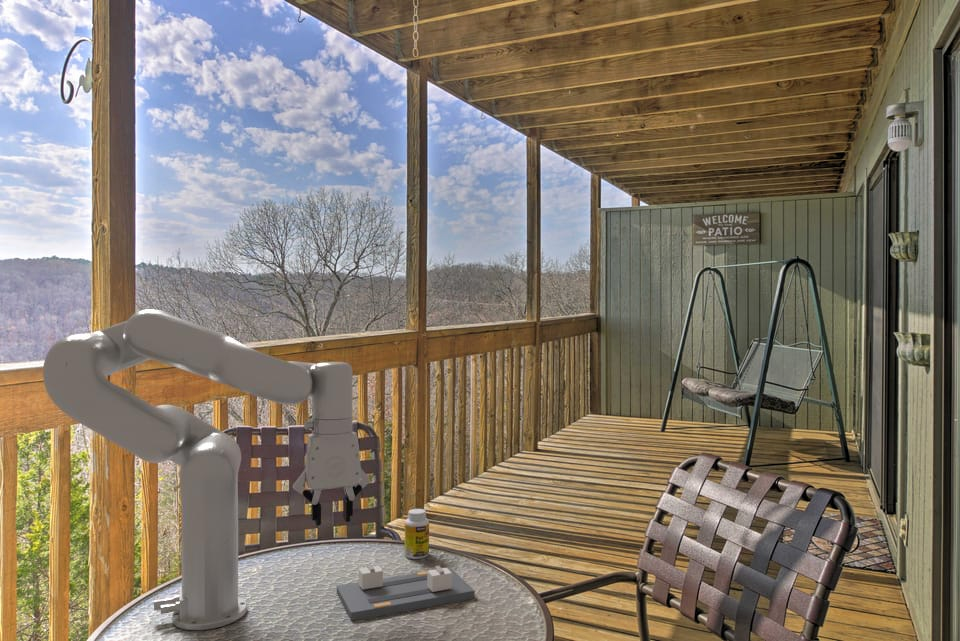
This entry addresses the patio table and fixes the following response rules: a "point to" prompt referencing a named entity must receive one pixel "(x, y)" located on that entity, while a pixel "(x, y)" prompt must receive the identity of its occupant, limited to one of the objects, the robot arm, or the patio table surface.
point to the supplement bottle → (416, 534)
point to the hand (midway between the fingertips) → (332, 520)
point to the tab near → (439, 579)
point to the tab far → (370, 577)
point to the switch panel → (400, 595)
